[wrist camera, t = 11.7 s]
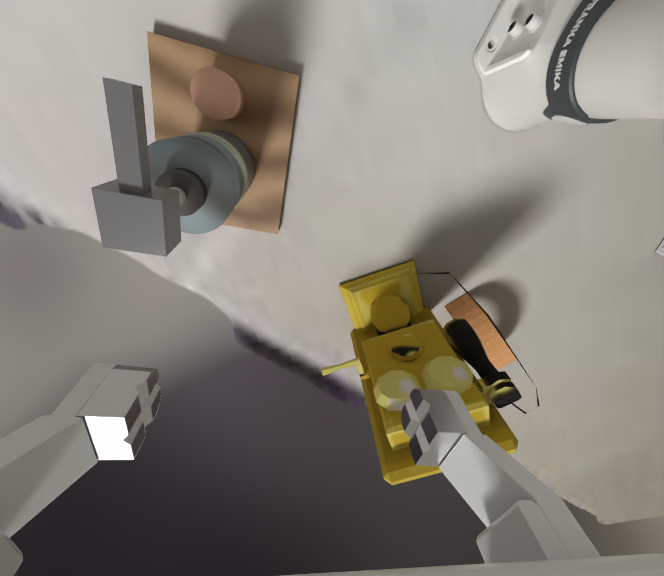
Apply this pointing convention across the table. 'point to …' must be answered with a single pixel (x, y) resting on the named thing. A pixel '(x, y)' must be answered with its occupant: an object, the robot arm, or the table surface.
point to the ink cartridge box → (660, 249)
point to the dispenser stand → (220, 139)
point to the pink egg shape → (217, 94)
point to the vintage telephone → (418, 365)
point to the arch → (482, 330)
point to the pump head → (134, 183)
